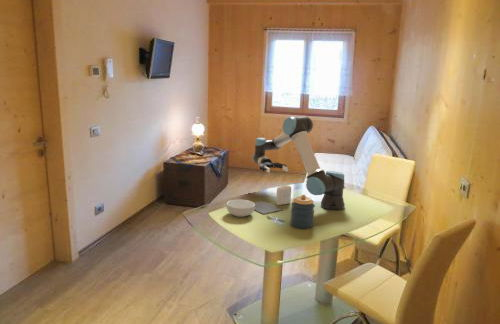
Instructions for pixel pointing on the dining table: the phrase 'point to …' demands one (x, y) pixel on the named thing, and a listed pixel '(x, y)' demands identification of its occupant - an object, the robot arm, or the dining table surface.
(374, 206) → the dining table surface
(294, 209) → the canister
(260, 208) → the mat
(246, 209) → the cereal bowl
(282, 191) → the beige rounded block
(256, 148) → the robot arm
